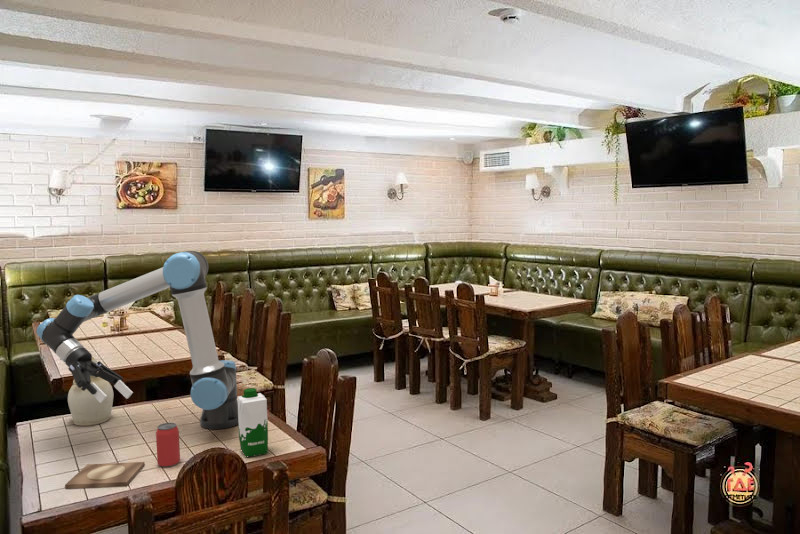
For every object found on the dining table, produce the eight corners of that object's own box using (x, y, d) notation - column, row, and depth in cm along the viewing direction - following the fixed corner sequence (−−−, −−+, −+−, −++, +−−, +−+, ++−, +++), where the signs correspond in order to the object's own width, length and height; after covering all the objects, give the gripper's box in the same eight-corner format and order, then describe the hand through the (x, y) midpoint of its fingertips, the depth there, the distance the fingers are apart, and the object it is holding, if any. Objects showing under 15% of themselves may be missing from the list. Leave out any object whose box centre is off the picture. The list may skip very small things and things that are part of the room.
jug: (84, 430, 216) (79, 362, 214) (60, 423, 224) (56, 357, 222) (123, 418, 229) (119, 353, 227) (99, 411, 237) (95, 349, 235)
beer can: (172, 468, 182) (170, 429, 181) (153, 467, 183) (150, 428, 182) (184, 459, 188) (182, 422, 187) (165, 458, 189) (163, 421, 188)
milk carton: (264, 444, 199) (261, 386, 197) (271, 454, 191) (269, 393, 189) (237, 450, 195) (234, 390, 193) (243, 459, 187) (241, 397, 185)
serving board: (144, 465, 184) (144, 460, 184) (127, 486, 170) (126, 480, 170) (87, 468, 183) (87, 463, 183) (65, 488, 169) (64, 483, 169)
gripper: (92, 362, 211) (132, 402, 207) (39, 365, 187) (84, 410, 182) (105, 346, 211) (146, 385, 207) (54, 346, 187) (99, 391, 182)
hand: (117, 397), depth 195 cm, fingers open, 13 cm apart
